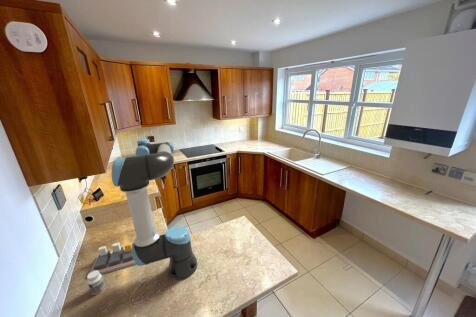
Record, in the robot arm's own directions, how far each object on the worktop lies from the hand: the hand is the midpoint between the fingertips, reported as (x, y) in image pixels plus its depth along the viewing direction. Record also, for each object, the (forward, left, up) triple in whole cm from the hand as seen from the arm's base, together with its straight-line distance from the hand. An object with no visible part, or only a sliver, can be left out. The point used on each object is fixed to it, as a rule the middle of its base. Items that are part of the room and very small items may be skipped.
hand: (153, 190), depth 136 cm
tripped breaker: (-28, +16, -24) cm, 40 cm away
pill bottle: (-46, +27, -28) cm, 61 cm away
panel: (-28, +23, -28) cm, 46 cm away
